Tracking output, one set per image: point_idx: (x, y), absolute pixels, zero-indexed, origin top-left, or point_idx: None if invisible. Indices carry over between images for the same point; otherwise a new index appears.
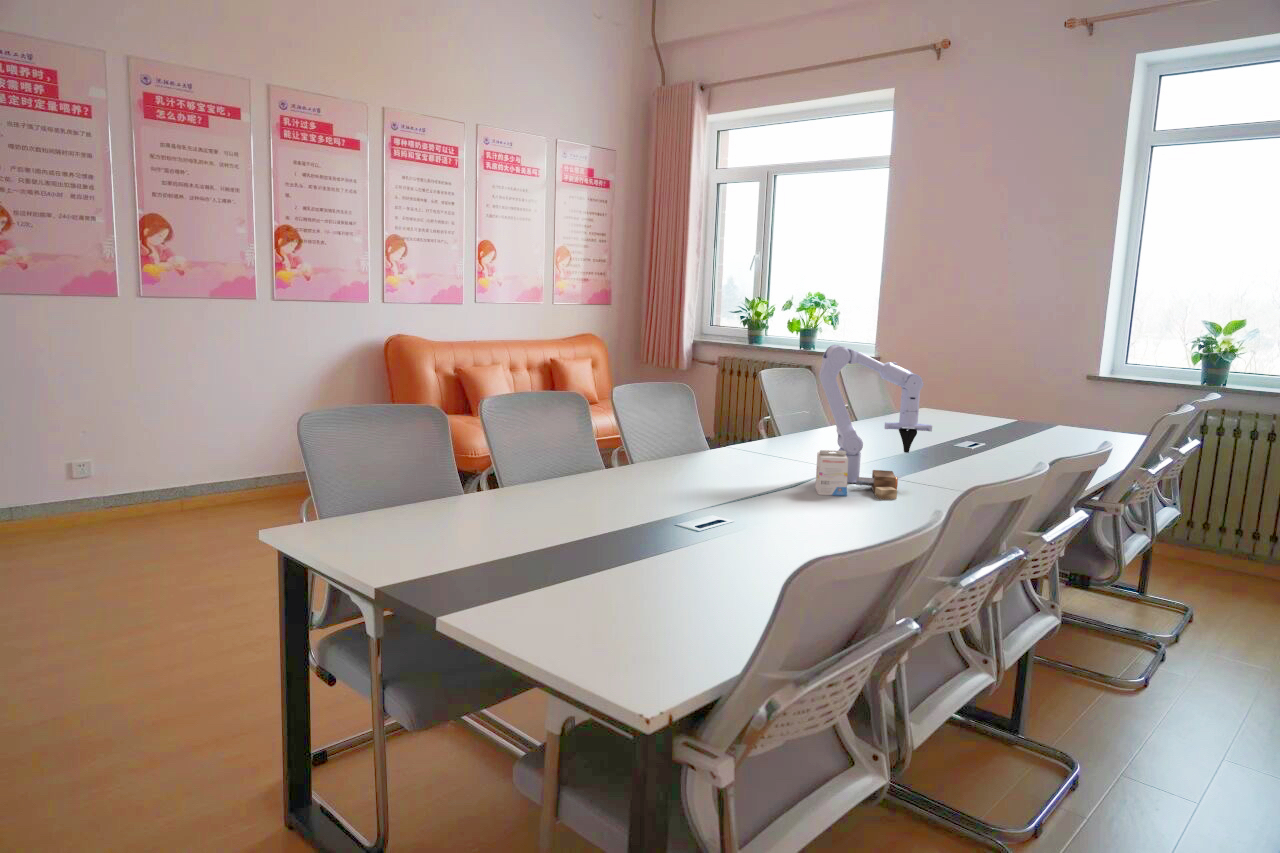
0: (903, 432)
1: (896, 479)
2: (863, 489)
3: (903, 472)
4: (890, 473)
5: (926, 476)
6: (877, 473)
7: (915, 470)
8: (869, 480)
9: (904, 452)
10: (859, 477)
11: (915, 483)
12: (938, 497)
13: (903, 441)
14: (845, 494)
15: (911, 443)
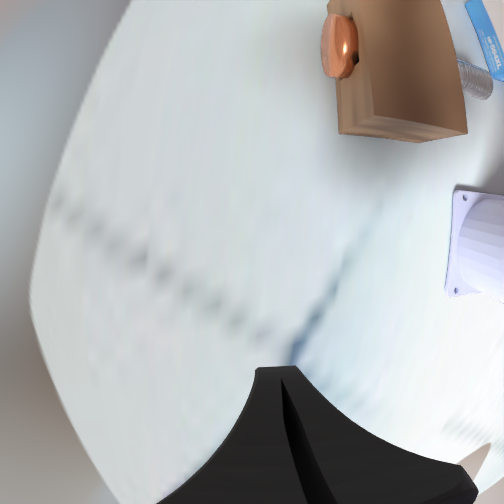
0: (449, 495)
1: (339, 16)
2: None
3: None
4: (382, 44)
5: (156, 425)
6: (440, 43)
7: None
8: None
9: (297, 367)
10: (485, 75)
11: (203, 284)
12: (140, 19)
13: (354, 423)
14: (469, 2)
15: (236, 423)
